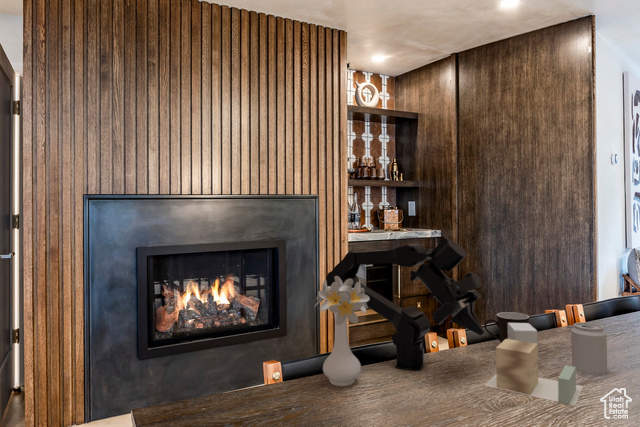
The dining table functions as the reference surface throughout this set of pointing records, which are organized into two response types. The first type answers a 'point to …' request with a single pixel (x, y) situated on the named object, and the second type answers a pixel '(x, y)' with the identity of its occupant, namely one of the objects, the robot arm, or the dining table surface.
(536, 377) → the oak block
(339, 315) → the flower vase
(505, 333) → the coffee mug
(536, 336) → the small box
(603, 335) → the can
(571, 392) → the board
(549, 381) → the laminate slab
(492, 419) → the dining table surface
